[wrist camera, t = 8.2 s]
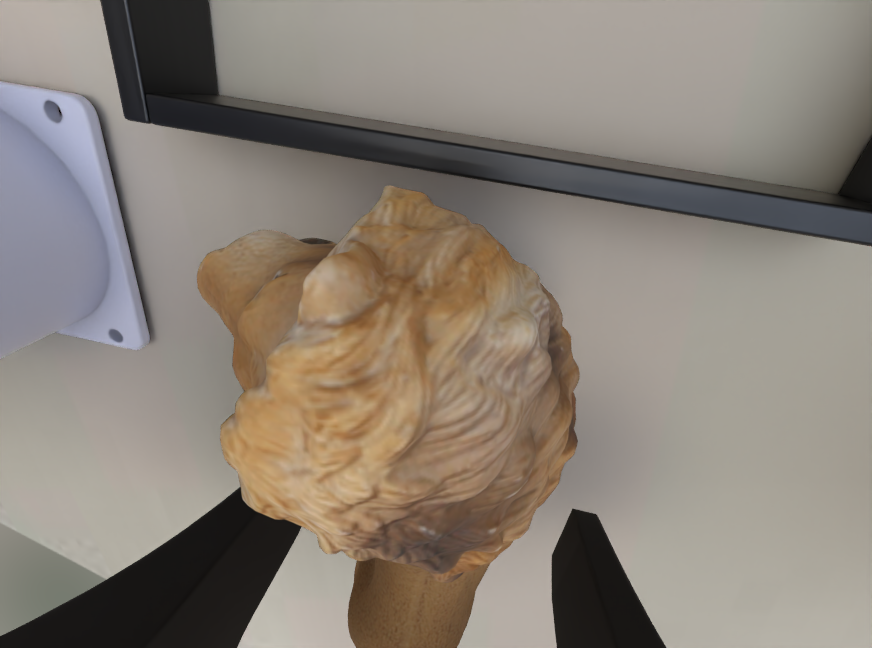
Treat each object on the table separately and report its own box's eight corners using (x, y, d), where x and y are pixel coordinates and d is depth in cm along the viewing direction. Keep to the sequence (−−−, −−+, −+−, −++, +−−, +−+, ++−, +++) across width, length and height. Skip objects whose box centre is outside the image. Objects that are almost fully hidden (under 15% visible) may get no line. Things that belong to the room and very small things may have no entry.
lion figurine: (357, 144, 11) (-87, 252, 3) (572, 145, 10) (779, 303, 2) (391, 523, 18) (287, 862, 10) (519, 543, 17) (520, 931, 9)
